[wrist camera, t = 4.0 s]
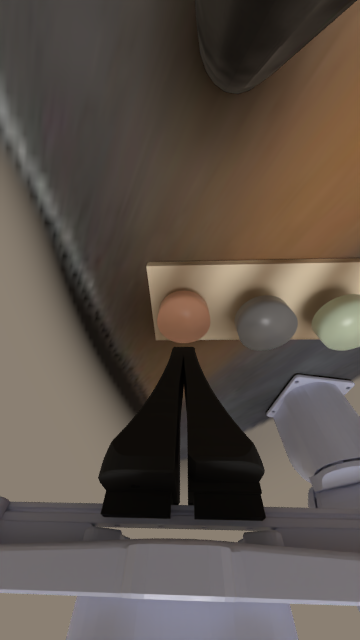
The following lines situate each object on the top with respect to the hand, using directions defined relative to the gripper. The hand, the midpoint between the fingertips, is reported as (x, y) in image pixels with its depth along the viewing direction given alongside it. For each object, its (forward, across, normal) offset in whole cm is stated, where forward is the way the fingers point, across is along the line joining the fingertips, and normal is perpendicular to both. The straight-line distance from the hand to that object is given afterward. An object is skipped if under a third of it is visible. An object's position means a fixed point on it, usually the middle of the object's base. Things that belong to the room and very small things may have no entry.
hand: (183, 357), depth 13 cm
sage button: (+5, -13, 0) cm, 14 cm away
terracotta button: (+6, 0, 0) cm, 6 cm away
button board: (+7, -6, 0) cm, 10 cm away
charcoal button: (+5, -7, 0) cm, 8 cm away
